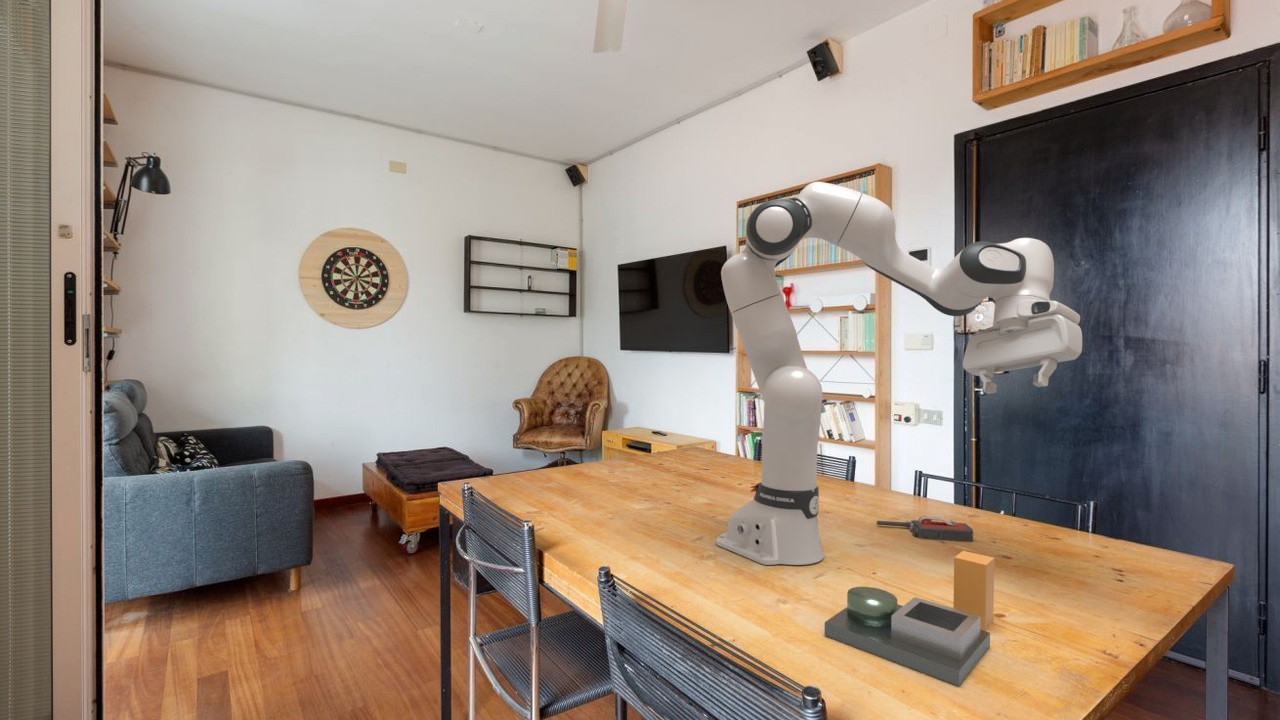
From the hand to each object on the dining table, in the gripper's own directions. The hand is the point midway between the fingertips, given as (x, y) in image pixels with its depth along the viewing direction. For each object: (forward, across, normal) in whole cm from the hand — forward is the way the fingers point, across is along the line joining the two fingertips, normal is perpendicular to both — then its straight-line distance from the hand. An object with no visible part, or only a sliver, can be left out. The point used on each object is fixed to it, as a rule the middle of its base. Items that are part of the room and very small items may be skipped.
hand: (1013, 389), depth 103 cm
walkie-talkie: (+24, -34, +21) cm, 47 cm away
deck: (+46, +1, -18) cm, 50 cm away
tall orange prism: (+41, +1, -4) cm, 41 cm away
